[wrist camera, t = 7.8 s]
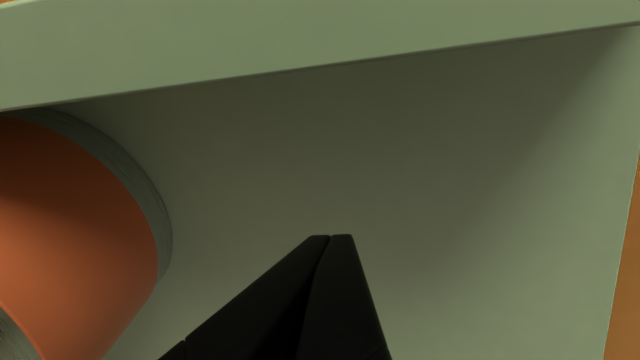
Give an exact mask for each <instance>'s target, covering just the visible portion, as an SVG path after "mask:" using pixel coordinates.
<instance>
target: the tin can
mask: <svg viewBox="0 0 640 360" xmlns="http://www.w3.org/2000/svg"><path fill="white" fill-rule="evenodd" d="M172 247H173V245H172V230H171V224H170V220H169V217H168V214H167V211H166V208H165V206H164V204H163V201H162V199H161V197H160V195H159V193H158V192H157V190H156V188H155V187H154V185H153V183H152V182H151V180H150V179H149V178H148V176H147V175H146V174H145V172H144V171H143V169H142V168H141V167H140V166H139V165H138V164H137V163H136V162H135V161H134V159H133V158H132V157H131V156H130V155H129V154H128V153H127V152H125V151H124V150H123V149H122V148H121V147H120V146H119V145H118V144H117V143H115V142H114V141H113V140H111V139H110V138H109V137H107V136H106V135H105V134H103V133H102V132H100V131H99V130H97V129H95V128H94V127H92V126H90V125H89V124H87V123H85V122H83V121H81V120H79V119H77V118H75V117H72V116H70V115H67V114H64V113H61V112H59V111H55V110H51V109H47V108H42V107H34V108H26V109H19V110H12V111H4V112H0V360H102V359H103V358H104V357H105V356H106V354H107V353H108V352H109V350H110V349H111V348H112V346H113V345H114V344H115V342H116V341H117V340H118V338H119V337H120V336H121V334H122V333H123V332H124V330H125V329H126V328H127V327H128V325H129V324H130V323H131V321H132V320H133V319H134V317H135V316H136V315H137V313H138V312H139V311H140V309H141V308H142V307H143V305H144V304H145V303H146V301H147V300H148V299H149V297H150V295H151V293H152V292H153V290H154V288H155V287H156V285H157V284H158V283H159V282H160V280H161V279H162V278H163V276H164V274H165V272H166V271H167V269H168V266H169V263H170V260H171V254H172Z"/></svg>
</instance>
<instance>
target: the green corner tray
mask: <svg viewBox="0 0 640 360" xmlns="http://www.w3.org/2000/svg"><path fill="white" fill-rule="evenodd" d="M34 107H42V108H47V109H51V110H55V111H59V112H61V113H64V114H67V115H70V116H72V117H75V118H77V119H79V120H81V121H83V122H85V123H87V124H89V125H90V126H92V127H94V128H95V129H97V130H99V131H100V132H102V133H103V134H105V135H106V136H107V137H109V138H110V139H111V140H113V141H114V142H115V143H117V144H118V145H119V146H120V147H121V148H122V149H123V150H124V151H125V152H127V153H128V154H129V155H130V156H131V157H132V158H133V159H134V161H135V162H136V163H137V164H138V165H139V166H140V167H141V168H142V169H143V171H144V172H145V174H146V175H147V176H148V178H149V179H150V180H151V182H152V183H153V185H154V187H155V188H156V190H157V192H158V193H159V195H160V197H161V199H162V201H163V204H164V206H165V208H166V211H167V214H168V217H169V220H170V224H171V230H172V245H173V247H172V254H171V260H170V263H169V266H168V269H167V271H166V272H165V274H164V276H163V278H162V279H161V280H160V282H159V283H158V284H157V285H156V287H155V288H154V290H153V292H152V293H151V295H150V297H149V299H148V300H147V301H146V303H145V304H144V305H143V307H142V308H141V309H140V311H139V312H138V313H137V315H136V316H135V317H134V319H133V320H132V321H131V323H130V324H129V325H128V327H127V328H126V329H125V330H124V332H123V333H122V334H121V336H120V337H119V338H118V340H117V341H116V342H115V344H114V345H113V346H112V348H111V349H110V350H109V352H108V353H107V354H106V356H105V357H104V358H103V359H102V360H157V359H159V358H160V357H161V356H163V355H164V354H165V353H166V352H168V351H169V350H170V349H171V348H172V347H174V346H175V345H176V344H177V343H179V342H180V341H181V340H184V341H185V337H186V336H187V335H189V334H190V333H191V332H192V331H194V330H195V329H196V328H197V327H198V326H200V325H201V324H202V323H203V322H205V321H206V320H207V319H208V318H210V317H211V316H212V315H213V314H214V313H216V312H217V311H218V310H219V309H221V308H222V307H223V306H224V305H226V304H227V303H228V302H229V301H230V300H232V299H233V298H234V297H235V296H237V295H238V294H239V293H240V292H242V291H243V290H244V289H245V288H246V287H248V286H249V285H250V284H251V283H253V282H254V281H255V280H256V279H258V278H259V277H260V276H261V275H262V274H264V273H265V272H266V271H267V270H269V269H270V268H271V267H272V266H274V265H275V264H276V263H277V262H278V261H280V260H281V259H282V258H283V257H285V256H286V255H287V254H288V253H290V252H291V251H292V250H293V249H294V248H296V247H297V246H298V245H299V244H301V243H302V242H303V241H304V240H305V239H307V238H308V237H309V236H311V235H330V236H332V235H334V234H351V235H352V236H353V239H354V242H355V245H356V249H357V252H358V255H359V258H360V261H361V264H362V267H363V270H364V274H365V277H366V280H367V283H368V286H369V289H370V292H371V295H372V299H373V302H374V305H375V308H376V311H377V314H378V317H379V320H380V324H381V327H382V330H383V333H384V336H385V339H386V342H387V345H388V349H389V351H390V354H391V357H392V360H603V356H604V350H605V345H606V339H607V333H608V328H609V322H610V316H611V311H612V305H613V299H614V294H615V288H616V282H617V277H618V271H619V266H620V260H621V254H622V249H623V243H624V237H625V232H626V226H627V220H628V215H629V209H630V203H631V198H632V192H633V186H634V181H635V175H636V169H637V164H638V158H639V153H640V0H16V1H11V2H7V3H2V4H0V112H4V111H12V110H19V109H26V108H34Z"/></svg>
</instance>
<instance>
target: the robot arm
mask: <svg viewBox="0 0 640 360" xmlns="http://www.w3.org/2000/svg"><path fill="white" fill-rule="evenodd" d="M157 360H392V357H391V354H390V351H389V349H388V345H387V342H386V339H385V336H384V333H383V330H382V327H381V324H380V320H379V317H378V314H377V311H376V308H375V305H374V302H373V299H372V295H371V292H370V289H369V286H368V283H367V280H366V277H365V274H364V270H363V267H362V264H361V261H360V258H359V255H358V252H357V249H356V245H355V242H354V239H353V236H352V235H351V234H334V235H332V236H330V235H311V236H309V237H308V238H307V239H305V240H304V241H303V242H302V243H301V244H299V245H298V246H297V247H296V248H294V249H293V250H292V251H291V252H290V253H288V254H287V255H286V256H285V257H283V258H282V259H281V260H280V261H278V262H277V263H276V264H275V265H274V266H272V267H271V268H270V269H269V270H267V271H266V272H265V273H264V274H262V275H261V276H260V277H259V278H258V279H256V280H255V281H254V282H253V283H251V284H250V285H249V286H248V287H246V288H245V289H244V290H243V291H242V292H240V293H239V294H238V295H237V296H235V297H234V298H233V299H232V300H230V301H229V302H228V303H227V304H226V305H224V306H223V307H222V308H221V309H219V310H218V311H217V312H216V313H214V314H213V315H212V316H211V317H210V318H208V319H207V320H206V321H205V322H203V323H202V324H201V325H200V326H198V327H197V328H196V329H195V330H194V331H192V332H191V333H190V334H189V335H187V336H186V337H185V341H184V340H181V341H180V342H179V343H177V344H176V345H175V346H174V347H172V348H171V349H170V350H169V351H168V352H166V353H165V354H164V355H163V356H161V357H160V358H159V359H157Z"/></svg>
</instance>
